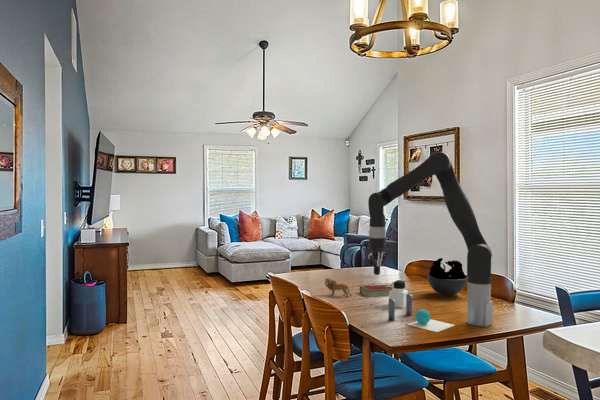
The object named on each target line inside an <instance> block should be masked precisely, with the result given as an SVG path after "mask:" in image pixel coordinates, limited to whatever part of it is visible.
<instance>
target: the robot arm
mask: <svg viewBox="0 0 600 400" xmlns="http://www.w3.org/2000/svg"><path fill="white" fill-rule="evenodd" d="M432 176H435V177H436V179H437V181H438V183H439V185H440V187H441V191H442V195H443V198H444V199H443V201H444V202H445V205H446V209H447V211H448V213H449V216H450V218H451V219H452V221H453V223H454V225H455V226H456V228H457V230H458V231H459V232H460V234H461V235H462V237H463V239H464V243H465V245H466V248H467V256H466V277H467V282H466V285H467V286H466V287H467V288H466V289H467V290H466V294H467V295H466V297H467V298H466V323H467V324H469V325H471V326H474V327H475V326H476V327H485V328H486V327H489V326H492V325H493V319H494V318H493V312H494V311H493V309H494V308H493V307H494V305H493V304H494V301H492V299H491V298H492V296H491V295H492V258H493V257H492V256H493V253H492V249H491V248H490V247H489V245H488V242H487V241H486V239H485V238H484V236H483V234H482V232H481V230H480V228H479V223H478V221H477V218H476V215H475V213H474V209H473V207H472V205H471V203H470V201H469V198H468V197H467V195H466V193H465V191H464V189H463V187H462V185H461V184H460V183H459V180H458V178H457V176H456V173H455V170H454V167H453V163H452V160H451V157H450V156H449V155H448V154H447V153H445V152H444V151H435V152H434V153H432V154H431V155H430V156H428V157H427V158H426V159H425V160H424V161H423V162H421V163H420V164H419V165H418V166H417V167H415V168H413V170H410V171H408V172H407V173H406V174H404V175H402V176H400V177H398V178H397V179H395V180H393V181H392V182H391V183H388V185H386V187H385V188H383V189H381V190H379V191H378V192H373V193H372V194H370V195H369V196H368V201H367V202H368V214H369V228H368V229H369V230H368V246H369V247H370V251H369V254H366V255H365V257H366V258H367V261H368V262H369V264H370V266H372V267H373V274H374V276H375V275H376V276H379V275H380V274H381V267H382V265H384V263H385V261H386V259H387V257H388V253H387V252H385V248H386V246H387V245H386V243H387V237H386V236H387V235H386V234H387V230H386V215H385V214H384V207H385V206H387V205H389V204H390V203H391V202H393V200H395V199H398V198H400V197H401V196H403V195H404V194H406V193H408V192H409V191H411V190H412V189H413V188H415V187H416V186H418V184H420V183H421V182H423V181H424V180H426V179H428V178H430V177H432Z"/></svg>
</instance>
